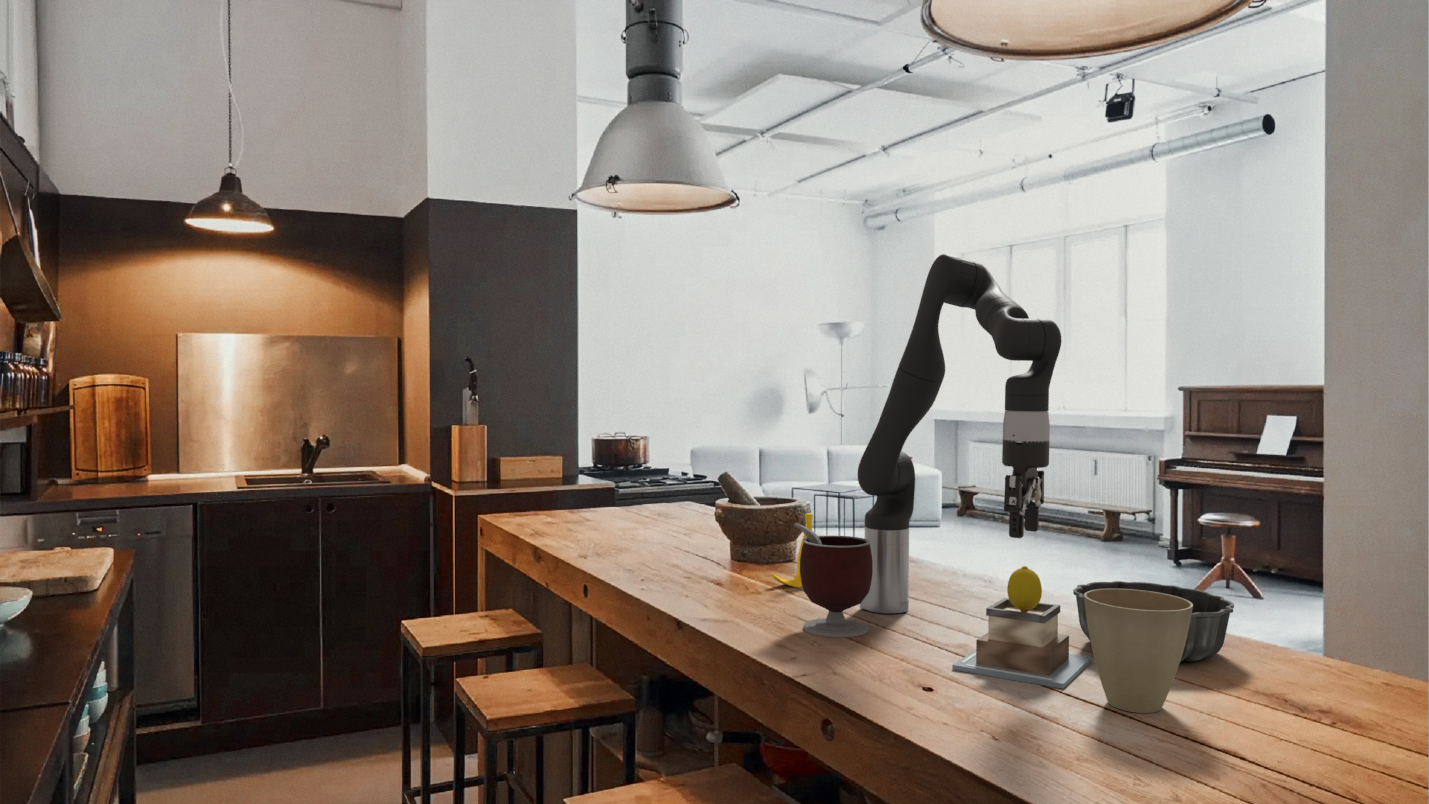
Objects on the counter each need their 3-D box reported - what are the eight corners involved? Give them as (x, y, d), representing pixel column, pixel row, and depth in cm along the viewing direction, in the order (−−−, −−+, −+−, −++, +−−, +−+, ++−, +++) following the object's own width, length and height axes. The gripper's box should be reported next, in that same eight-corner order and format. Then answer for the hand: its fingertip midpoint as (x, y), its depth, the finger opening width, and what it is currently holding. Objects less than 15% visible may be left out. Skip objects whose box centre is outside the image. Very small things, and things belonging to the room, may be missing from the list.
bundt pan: (1221, 639, 187) (1222, 586, 187) (1246, 679, 162) (1247, 618, 162) (1071, 627, 196) (1072, 576, 196) (1073, 663, 171) (1074, 605, 171)
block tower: (976, 663, 167) (976, 608, 167) (998, 647, 177) (999, 595, 177) (1049, 675, 161) (1050, 618, 160) (1068, 658, 171) (1069, 604, 170)
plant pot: (1137, 728, 139) (1139, 614, 139) (1060, 696, 153) (1062, 592, 152) (1214, 714, 145) (1216, 604, 145) (1134, 685, 159) (1135, 585, 158)
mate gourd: (880, 625, 196) (881, 523, 196) (860, 641, 184) (861, 533, 183) (805, 616, 203) (806, 518, 202) (781, 632, 190) (781, 527, 190)
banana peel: (801, 574, 247) (802, 507, 247) (854, 588, 232) (854, 516, 231) (747, 581, 238) (748, 511, 238) (798, 596, 222) (799, 521, 222)
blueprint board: (952, 669, 166) (952, 664, 166) (987, 645, 181) (987, 640, 181) (1063, 688, 156) (1063, 683, 156) (1091, 661, 171) (1091, 656, 171)
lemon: (1043, 618, 166) (1043, 570, 166) (1008, 616, 167) (1009, 568, 167) (1039, 610, 171) (1040, 564, 171) (1005, 608, 172) (1006, 562, 172)
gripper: (1016, 435, 176) (1014, 527, 176) (989, 439, 164) (988, 537, 165) (1060, 437, 172) (1058, 531, 172) (1036, 441, 160) (1034, 542, 160)
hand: (1023, 534), depth 168 cm, fingers open, 8 cm apart
